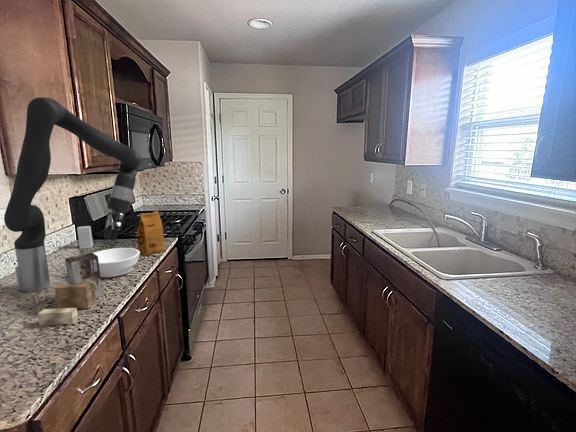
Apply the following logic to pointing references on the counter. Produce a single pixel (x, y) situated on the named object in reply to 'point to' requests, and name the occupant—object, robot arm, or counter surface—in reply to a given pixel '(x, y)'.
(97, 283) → the coffee box
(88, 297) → the block
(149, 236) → the coffee package
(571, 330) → the counter surface
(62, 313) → the batten
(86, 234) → the skincare box
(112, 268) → the bowl
